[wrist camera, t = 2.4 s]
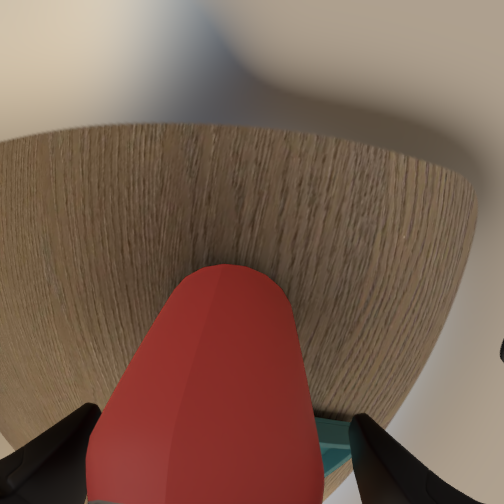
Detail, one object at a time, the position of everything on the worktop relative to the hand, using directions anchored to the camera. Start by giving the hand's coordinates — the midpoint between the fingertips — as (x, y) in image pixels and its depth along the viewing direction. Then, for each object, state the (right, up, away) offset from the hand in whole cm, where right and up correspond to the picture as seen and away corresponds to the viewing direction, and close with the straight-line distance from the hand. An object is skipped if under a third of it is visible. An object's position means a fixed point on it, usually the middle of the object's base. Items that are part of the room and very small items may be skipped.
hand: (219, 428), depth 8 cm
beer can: (0, +2, +7) cm, 8 cm away
